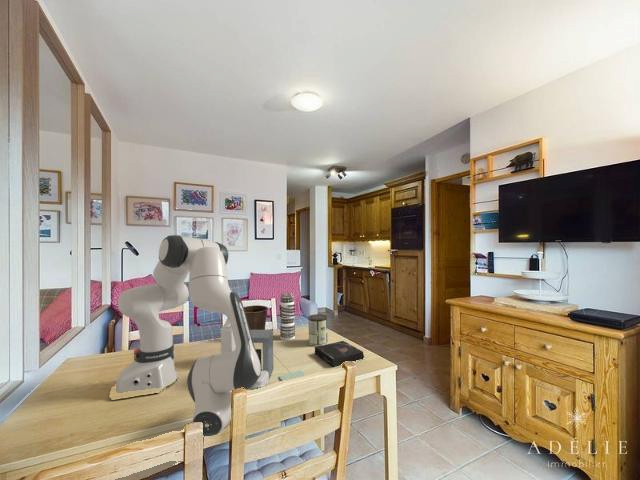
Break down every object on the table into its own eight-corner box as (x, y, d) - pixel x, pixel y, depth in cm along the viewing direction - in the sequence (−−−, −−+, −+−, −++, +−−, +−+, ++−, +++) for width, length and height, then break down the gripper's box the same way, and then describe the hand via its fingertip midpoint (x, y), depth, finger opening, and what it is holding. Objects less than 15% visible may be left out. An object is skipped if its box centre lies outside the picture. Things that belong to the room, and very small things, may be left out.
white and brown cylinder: (296, 334, 166) (295, 292, 166) (295, 340, 157) (294, 295, 157) (280, 334, 166) (280, 292, 166) (278, 340, 157) (278, 295, 157)
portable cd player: (364, 360, 131) (364, 351, 131) (332, 368, 123) (332, 359, 123) (344, 348, 146) (344, 340, 146) (314, 355, 138) (314, 347, 138)
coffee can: (315, 338, 160) (314, 313, 160) (331, 341, 155) (330, 315, 155) (304, 344, 151) (304, 317, 151) (321, 347, 146) (320, 320, 146)
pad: (288, 388, 106) (288, 387, 106) (278, 377, 115) (278, 376, 115) (311, 382, 111) (311, 380, 111) (301, 371, 120) (301, 370, 120)
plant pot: (272, 337, 162) (272, 309, 162) (244, 343, 153) (244, 313, 153) (262, 330, 176) (262, 304, 176) (236, 335, 167) (236, 307, 167)
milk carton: (233, 356, 136) (232, 317, 136) (243, 359, 133) (243, 319, 133) (221, 362, 130) (220, 320, 130) (231, 365, 127) (231, 322, 126)
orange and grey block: (255, 388, 107) (255, 359, 107) (243, 388, 107) (243, 359, 107) (263, 371, 121) (263, 345, 121) (253, 371, 121) (252, 345, 121)
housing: (268, 380, 112) (268, 337, 112) (238, 380, 113) (238, 337, 113) (273, 369, 122) (272, 329, 122) (245, 369, 123) (245, 329, 123)
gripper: (264, 379, 84) (272, 359, 98) (195, 380, 84) (213, 361, 98) (264, 400, 84) (273, 378, 98) (196, 402, 84) (214, 379, 98)
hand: (243, 369), depth 98 cm, fingers open, 8 cm apart
